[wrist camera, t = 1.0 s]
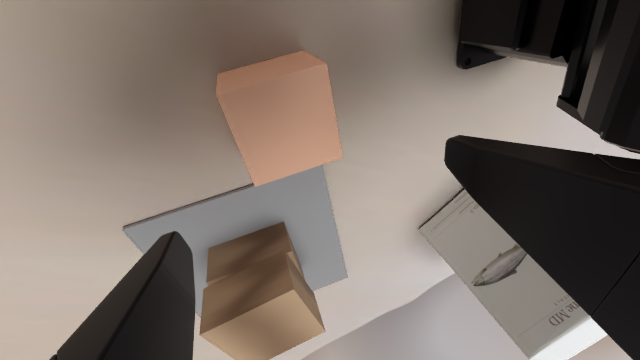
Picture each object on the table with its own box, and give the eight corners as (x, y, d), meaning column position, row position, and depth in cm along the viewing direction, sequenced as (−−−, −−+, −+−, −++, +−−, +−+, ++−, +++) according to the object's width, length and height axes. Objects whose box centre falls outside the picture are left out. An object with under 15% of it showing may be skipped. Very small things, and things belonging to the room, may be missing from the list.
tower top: (284, 249, 18) (293, 289, 16) (313, 293, 22) (325, 331, 19) (203, 288, 18) (199, 335, 16) (246, 326, 22) (249, 369, 19)
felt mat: (320, 161, 20) (321, 163, 20) (346, 274, 28) (347, 277, 28) (123, 227, 18) (122, 229, 18) (212, 327, 26) (212, 330, 26)
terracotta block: (303, 49, 16) (326, 63, 12) (320, 128, 19) (343, 157, 15) (217, 73, 15) (215, 94, 11) (248, 150, 18) (254, 187, 14)
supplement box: (473, 176, 26) (639, 289, 15) (499, 209, 30) (643, 315, 19) (415, 228, 27) (529, 362, 17) (447, 253, 31) (554, 373, 21)
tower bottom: (283, 221, 21) (291, 251, 19) (301, 267, 25) (310, 297, 22) (208, 247, 21) (206, 282, 18) (237, 291, 24) (239, 326, 22)
